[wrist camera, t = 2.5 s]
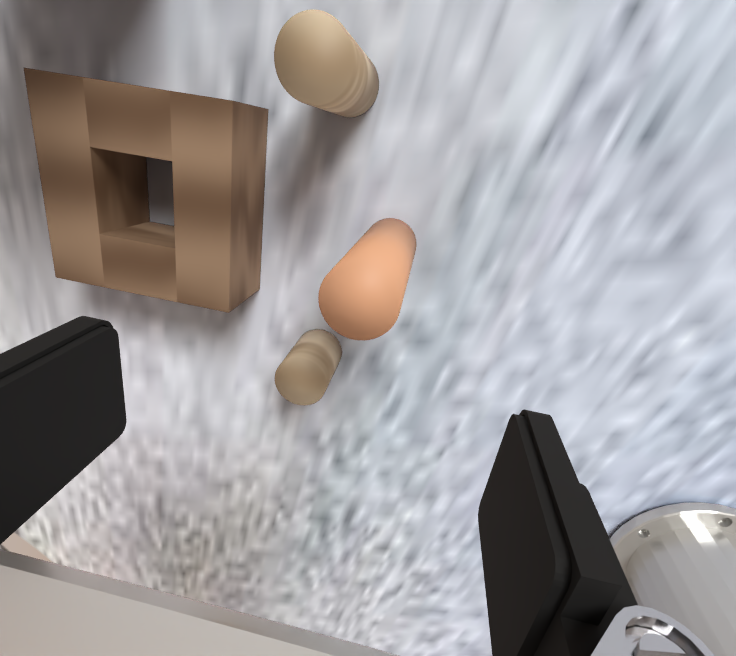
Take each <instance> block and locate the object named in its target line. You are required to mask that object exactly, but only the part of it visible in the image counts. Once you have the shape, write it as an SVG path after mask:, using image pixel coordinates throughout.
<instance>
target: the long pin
mask: <svg viewBox="0 0 736 656" xmlns="http://www.w3.org/2000/svg"><path fill="white" fill-rule="evenodd" d="M415 251H416V238H415V235H414V232H413V231H412V229H411V228H410V227H409V226H408V225H407V224H406V223H405V222H403V221H401V220H398V219H394V218H386V219H382V220H380V221H378V222H376V223H375V224H373V225H372V226H371V228H370V229H369V230H368V231H367V232H366V233H365V234H364V235H363V236H362V237H361V238H360V239H359V241H358V242H357V243H356V244H355V245H354V246H353V247H352V248H351V249H350V250H349V251H348V252H347V254H346V255H345V256H344V257H343V258H342V259H341V260H340V261H339V262H338V263H337V264H336V265H335V267H334V268H333V269H332V270H331V271H330V272H329V273H328V274H327V275H326V277H325V278H324V280H323V282H322V284H321V286H320V290H319V307H320V310H321V313H322V315H323V317H324V319H325V321H326V322H327V323H328V325H329V326H330V327H331V328H332V329H333V330H334V331H336V332H337V333H339V334H340V335H342V336H344V337H347V338H350V339H354V340H370V339H374V338H377V337H379V336H381V335H383V334H385V333H386V332H387V331H389V330H390V329H391V328H392V326H393V325H394V324H395V322H396V320H397V318H398V316H399V313H400V309H401V305H402V301H403V297H404V293H405V289H406V286H407V282H408V278H409V274H410V270H411V266H412V262H413V259H414V255H415Z"/></svg>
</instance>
